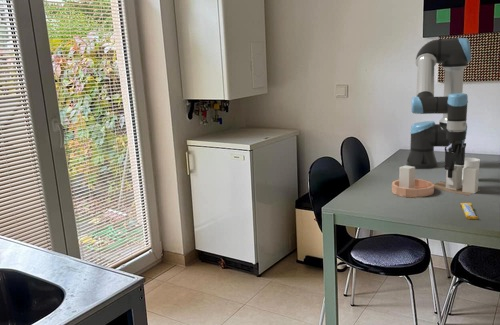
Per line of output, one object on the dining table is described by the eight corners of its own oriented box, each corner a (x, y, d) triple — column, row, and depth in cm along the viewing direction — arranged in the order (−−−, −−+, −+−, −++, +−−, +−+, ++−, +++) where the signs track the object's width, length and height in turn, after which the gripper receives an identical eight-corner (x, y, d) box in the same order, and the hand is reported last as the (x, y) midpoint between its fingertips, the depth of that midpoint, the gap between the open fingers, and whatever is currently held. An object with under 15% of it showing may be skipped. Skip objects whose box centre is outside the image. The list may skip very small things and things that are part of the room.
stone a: (404, 187, 203) (405, 165, 201) (414, 189, 199) (415, 166, 197) (399, 189, 200) (399, 167, 198) (408, 191, 197) (409, 168, 194)
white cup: (480, 182, 206) (482, 161, 204) (462, 182, 208) (463, 161, 206) (476, 178, 214) (477, 157, 212) (458, 178, 215) (459, 157, 213)
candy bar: (478, 221, 162) (479, 216, 161) (465, 220, 163) (466, 215, 162) (471, 206, 177) (471, 201, 177) (459, 206, 178) (460, 201, 178)
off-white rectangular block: (451, 185, 202) (451, 163, 199) (461, 187, 198) (462, 165, 196) (445, 188, 199) (446, 165, 197) (456, 190, 195) (457, 167, 193)
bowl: (406, 184, 209) (407, 176, 208) (441, 191, 196) (442, 183, 195) (384, 192, 199) (384, 184, 198) (419, 200, 186) (419, 191, 185)
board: (440, 182, 209) (440, 181, 209) (482, 190, 195) (482, 189, 194) (425, 188, 202) (425, 187, 202) (468, 196, 188) (468, 195, 187)
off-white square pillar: (465, 189, 196) (466, 166, 194) (477, 190, 193) (479, 167, 190) (462, 191, 193) (463, 168, 191) (474, 193, 190) (475, 170, 187)
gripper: (453, 134, 185) (451, 189, 190) (475, 128, 195) (472, 181, 200) (436, 132, 191) (434, 186, 196) (458, 126, 201) (455, 178, 206)
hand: (453, 183), depth 198 cm, fingers closed on off-white rectangular block, 4 cm apart
